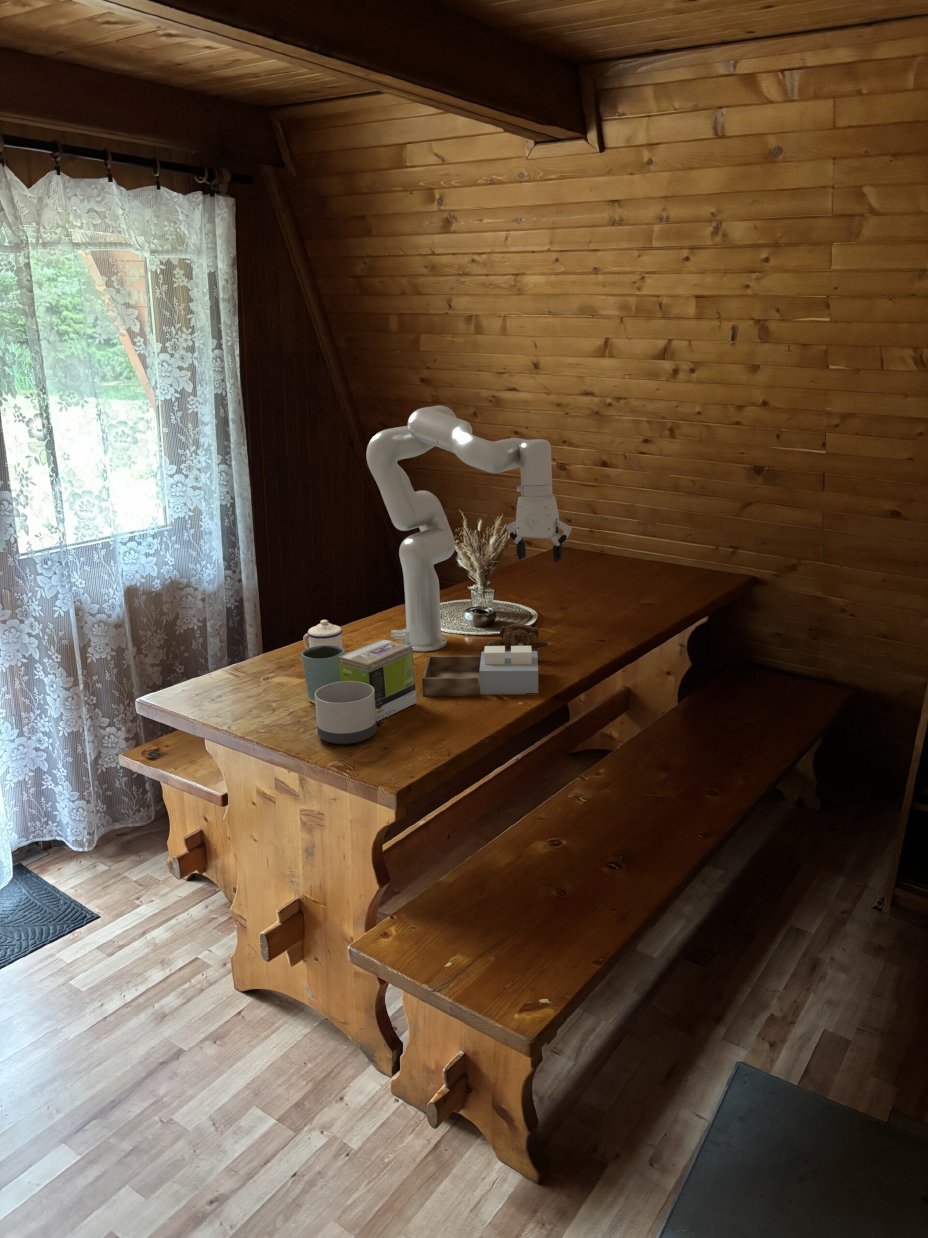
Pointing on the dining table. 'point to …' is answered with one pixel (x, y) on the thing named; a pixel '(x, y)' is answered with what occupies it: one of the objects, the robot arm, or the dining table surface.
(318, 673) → the teal tapered cup
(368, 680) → the tea box
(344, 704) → the planter
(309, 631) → the teacup with lid
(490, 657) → the cream square-faced block
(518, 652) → the cream upright block
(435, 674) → the box
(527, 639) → the wooden carving
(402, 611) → the dining table surface
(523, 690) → the grey square block
